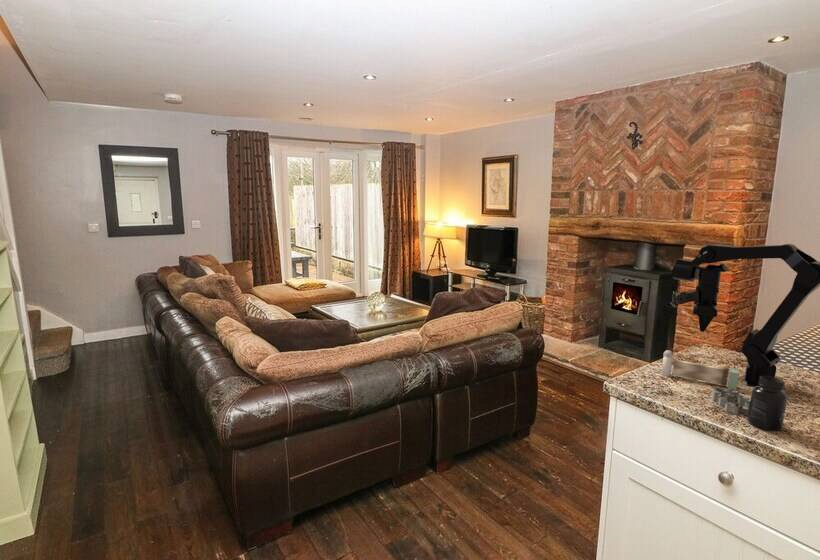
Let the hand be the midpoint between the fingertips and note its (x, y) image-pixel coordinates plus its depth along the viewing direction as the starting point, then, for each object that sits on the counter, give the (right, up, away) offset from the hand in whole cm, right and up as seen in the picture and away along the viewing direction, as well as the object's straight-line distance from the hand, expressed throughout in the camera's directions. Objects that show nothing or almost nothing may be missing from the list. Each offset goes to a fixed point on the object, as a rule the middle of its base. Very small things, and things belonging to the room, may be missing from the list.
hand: (701, 331), depth 148 cm
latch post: (0, -15, -14) cm, 20 cm away
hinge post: (-14, -13, -4) cm, 20 cm away
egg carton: (-8, -18, -25) cm, 32 cm away
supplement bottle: (-7, -19, -35) cm, 41 cm away
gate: (-7, -13, -9) cm, 18 cm away
